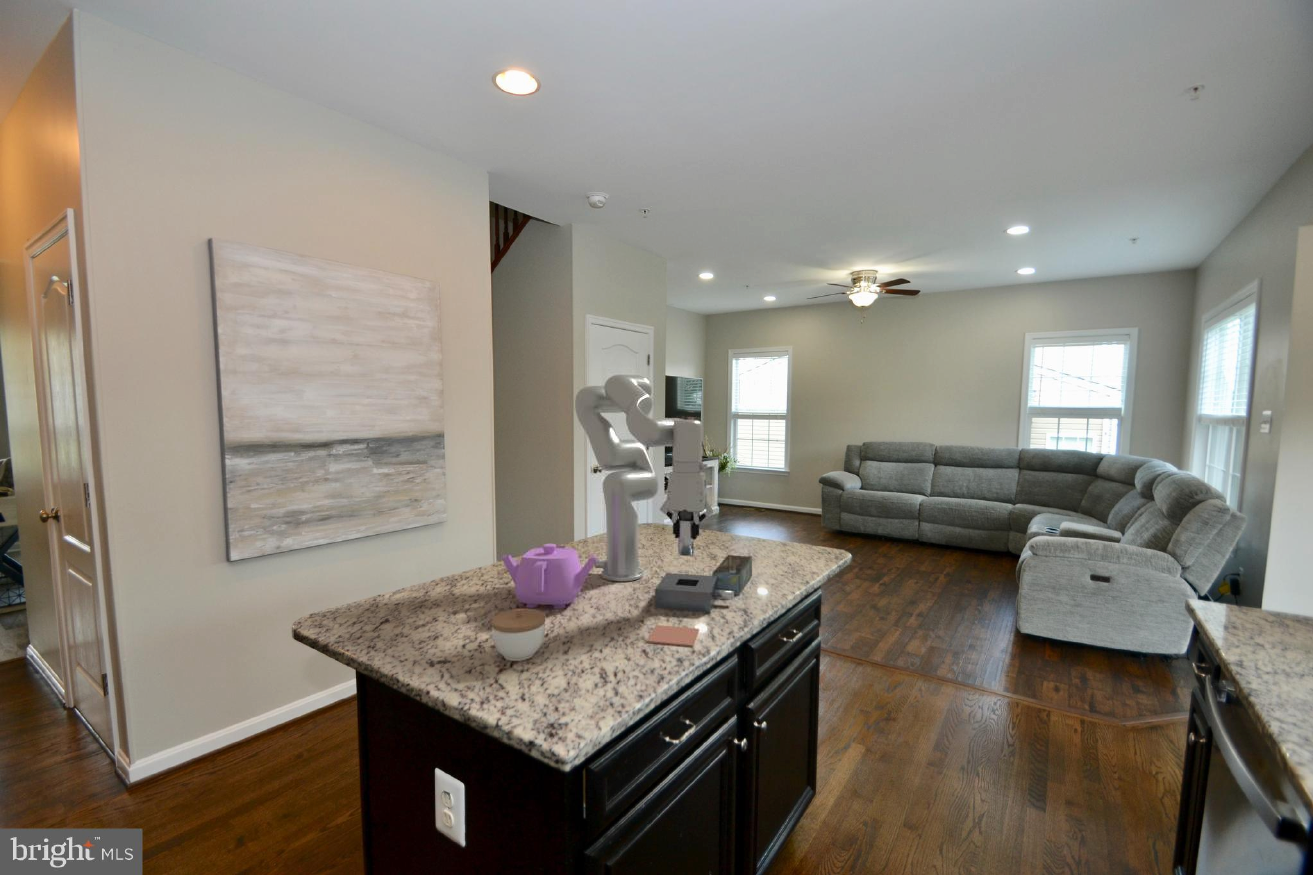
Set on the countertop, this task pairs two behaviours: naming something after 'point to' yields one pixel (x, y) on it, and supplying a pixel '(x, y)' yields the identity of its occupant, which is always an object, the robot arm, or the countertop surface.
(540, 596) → the teapot
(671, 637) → the mat
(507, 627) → the lidded jar
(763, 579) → the countertop surface
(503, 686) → the countertop surface
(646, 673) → the countertop surface
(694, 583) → the grey slotted box
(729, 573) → the beverage carton
